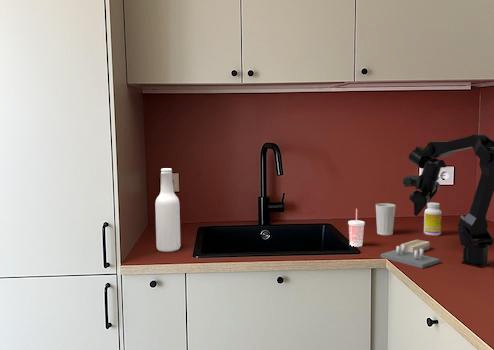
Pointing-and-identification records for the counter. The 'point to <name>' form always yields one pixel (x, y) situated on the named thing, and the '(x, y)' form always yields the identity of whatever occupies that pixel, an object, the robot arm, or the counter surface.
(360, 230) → the beverage cup
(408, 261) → the peg stand
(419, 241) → the shelf board
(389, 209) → the cup
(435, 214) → the supplement bottle
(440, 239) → the counter surface
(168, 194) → the white bottle
